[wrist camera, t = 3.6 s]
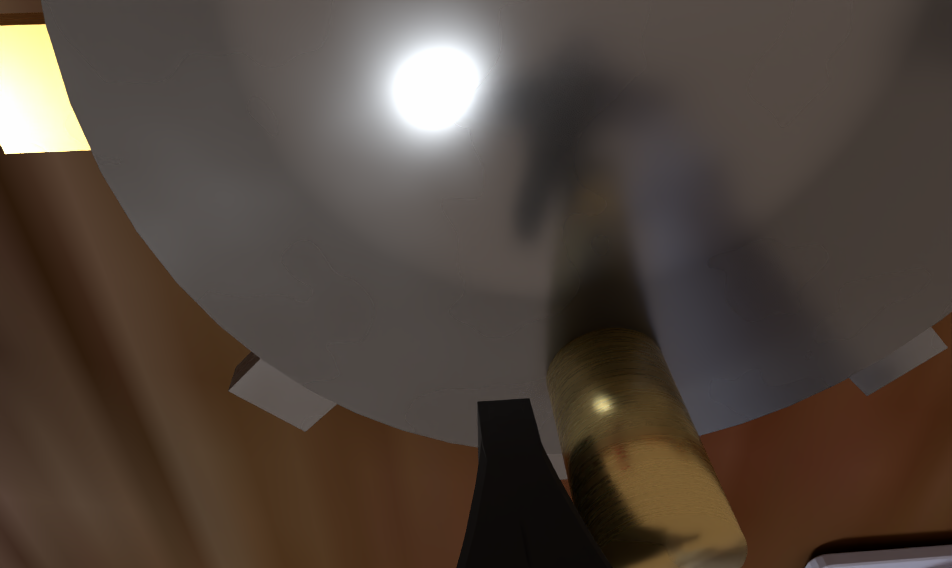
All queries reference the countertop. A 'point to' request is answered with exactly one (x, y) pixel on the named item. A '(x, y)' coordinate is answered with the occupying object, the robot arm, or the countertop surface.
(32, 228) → the countertop surface
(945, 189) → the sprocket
